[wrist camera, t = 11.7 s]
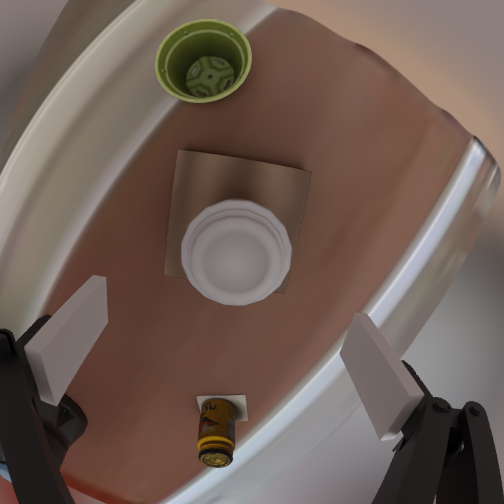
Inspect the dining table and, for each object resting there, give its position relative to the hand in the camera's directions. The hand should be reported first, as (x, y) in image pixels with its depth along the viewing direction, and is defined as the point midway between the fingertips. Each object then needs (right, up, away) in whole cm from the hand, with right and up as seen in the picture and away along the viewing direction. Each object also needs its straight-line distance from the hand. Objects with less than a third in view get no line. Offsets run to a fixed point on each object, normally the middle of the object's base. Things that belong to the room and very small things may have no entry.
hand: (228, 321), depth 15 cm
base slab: (-1, +8, +23) cm, 24 cm away
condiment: (-4, -24, +34) cm, 42 cm away
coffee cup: (-1, +6, +19) cm, 21 cm away
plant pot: (-4, +25, +17) cm, 30 cm away
